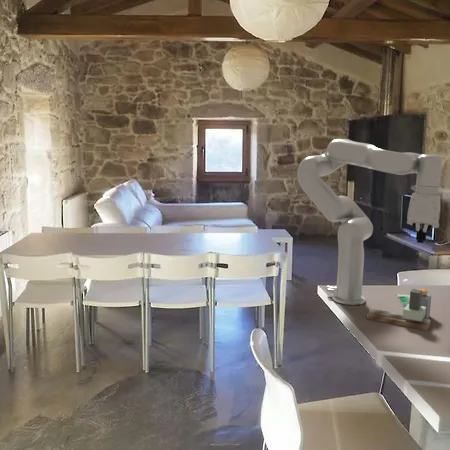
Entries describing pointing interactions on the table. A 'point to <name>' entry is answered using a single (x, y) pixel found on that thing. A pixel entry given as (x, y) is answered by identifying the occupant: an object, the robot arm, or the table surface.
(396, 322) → the rail board
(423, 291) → the plunger
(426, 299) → the cabinet
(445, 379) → the table surface
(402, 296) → the smartphone
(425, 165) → the robot arm
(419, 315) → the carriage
